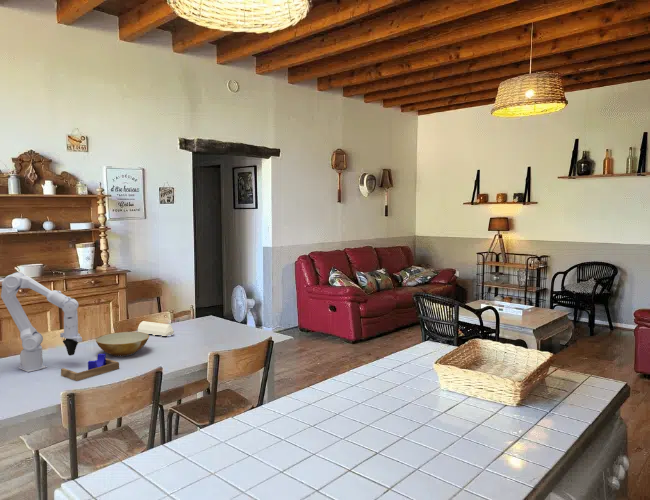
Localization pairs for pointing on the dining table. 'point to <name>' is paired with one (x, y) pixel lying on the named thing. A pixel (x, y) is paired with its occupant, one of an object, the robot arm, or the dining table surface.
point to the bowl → (122, 342)
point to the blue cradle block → (97, 362)
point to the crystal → (155, 328)
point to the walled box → (90, 371)
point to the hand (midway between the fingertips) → (71, 354)
